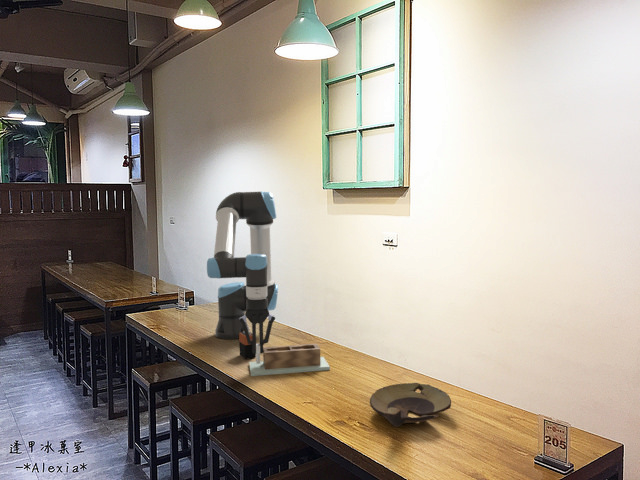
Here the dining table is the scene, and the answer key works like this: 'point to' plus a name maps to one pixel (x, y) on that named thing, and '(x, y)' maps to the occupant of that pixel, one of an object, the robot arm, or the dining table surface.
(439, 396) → the broken dish
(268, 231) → the robot arm
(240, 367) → the dining table surface
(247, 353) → the battery
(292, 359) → the divided compartment tray
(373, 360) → the dining table surface
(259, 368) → the board
